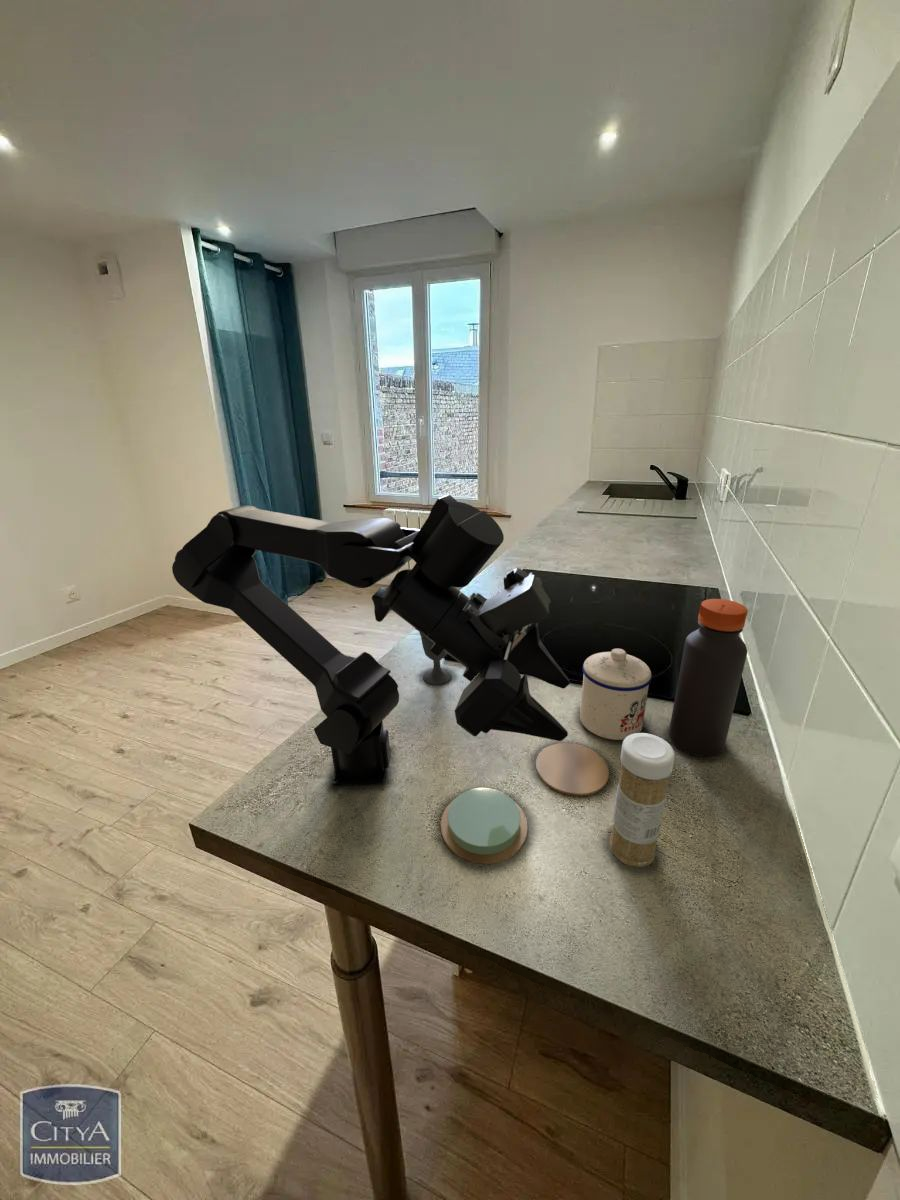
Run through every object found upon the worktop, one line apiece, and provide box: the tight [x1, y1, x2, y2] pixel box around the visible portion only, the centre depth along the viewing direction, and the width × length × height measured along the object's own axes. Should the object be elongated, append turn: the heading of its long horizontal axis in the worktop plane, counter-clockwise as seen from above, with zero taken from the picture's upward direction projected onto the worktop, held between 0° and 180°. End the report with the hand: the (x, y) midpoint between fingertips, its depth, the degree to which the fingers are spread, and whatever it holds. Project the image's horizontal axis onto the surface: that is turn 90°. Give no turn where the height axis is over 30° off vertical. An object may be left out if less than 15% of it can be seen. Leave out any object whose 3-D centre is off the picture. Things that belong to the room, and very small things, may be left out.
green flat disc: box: [448, 787, 520, 855], centre depth 52 cm, size 8×8×1 cm
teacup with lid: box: [579, 648, 653, 741], centre depth 67 cm, size 12×9×12 cm
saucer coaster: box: [440, 800, 528, 865], centre depth 52 cm, size 10×10×1 cm
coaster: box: [535, 742, 610, 796], centre depth 60 cm, size 9×9×1 cm
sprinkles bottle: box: [609, 732, 676, 868], centre depth 46 cm, size 5×5×13 cm
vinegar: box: [668, 598, 749, 757], centre depth 60 cm, size 7×7×20 cm
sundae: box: [414, 628, 453, 685], centre depth 78 cm, size 7×7×15 cm
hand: (566, 709), depth 48 cm, fingers open, 9 cm apart
